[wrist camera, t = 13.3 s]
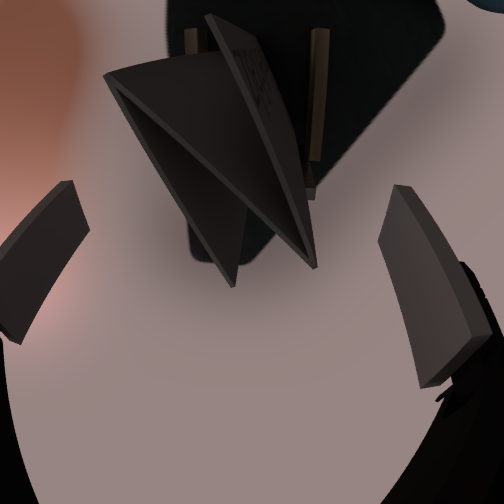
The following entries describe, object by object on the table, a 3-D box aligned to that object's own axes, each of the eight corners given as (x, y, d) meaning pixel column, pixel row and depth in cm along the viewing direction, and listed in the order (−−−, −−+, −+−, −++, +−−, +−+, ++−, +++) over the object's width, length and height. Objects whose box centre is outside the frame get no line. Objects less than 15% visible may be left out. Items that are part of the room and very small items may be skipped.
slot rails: (321, 31, 29) (329, 29, 25) (314, 146, 41) (320, 161, 36) (196, 31, 30) (184, 29, 26) (203, 143, 42) (193, 158, 37)
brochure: (292, 123, 39) (318, 268, 16) (257, 135, 41) (231, 288, 18) (256, 36, 31) (210, 13, 8) (218, 51, 32) (102, 76, 10)
